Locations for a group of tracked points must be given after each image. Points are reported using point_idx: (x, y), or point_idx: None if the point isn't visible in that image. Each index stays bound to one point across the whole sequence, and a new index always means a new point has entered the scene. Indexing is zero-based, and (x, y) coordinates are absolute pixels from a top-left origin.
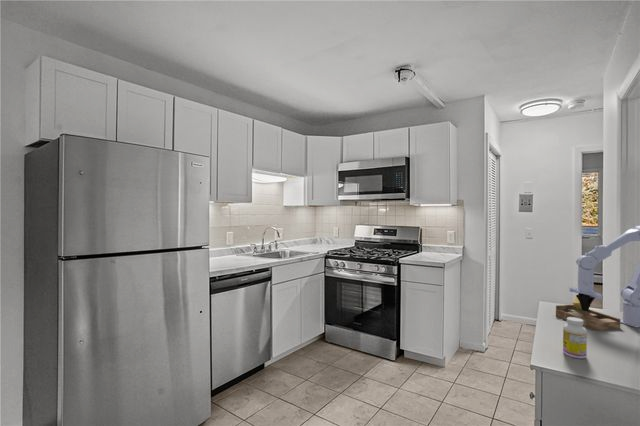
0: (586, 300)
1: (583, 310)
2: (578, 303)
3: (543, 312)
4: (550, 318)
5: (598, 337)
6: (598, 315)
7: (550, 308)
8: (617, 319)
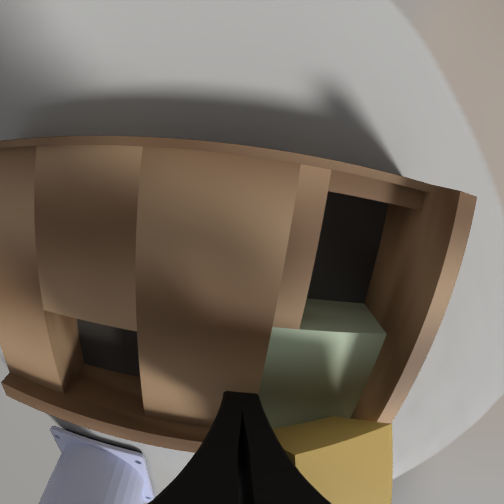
0: (156, 500)
1: (239, 393)
2: (314, 446)
3: (486, 177)
4: (366, 50)
5: None
6: (145, 412)
7: (492, 326)
8: (9, 382)
